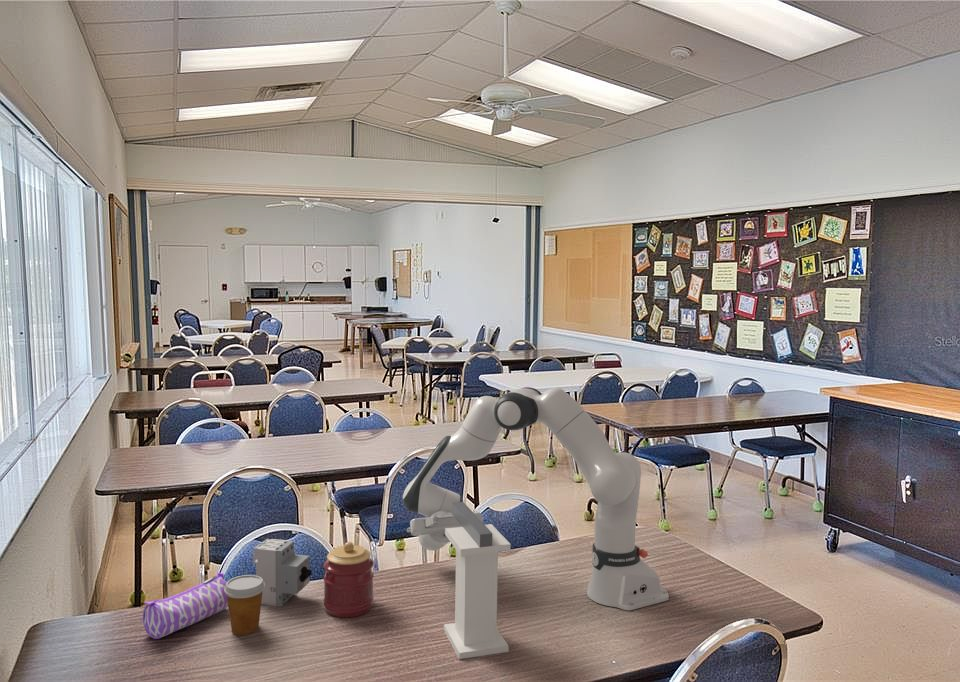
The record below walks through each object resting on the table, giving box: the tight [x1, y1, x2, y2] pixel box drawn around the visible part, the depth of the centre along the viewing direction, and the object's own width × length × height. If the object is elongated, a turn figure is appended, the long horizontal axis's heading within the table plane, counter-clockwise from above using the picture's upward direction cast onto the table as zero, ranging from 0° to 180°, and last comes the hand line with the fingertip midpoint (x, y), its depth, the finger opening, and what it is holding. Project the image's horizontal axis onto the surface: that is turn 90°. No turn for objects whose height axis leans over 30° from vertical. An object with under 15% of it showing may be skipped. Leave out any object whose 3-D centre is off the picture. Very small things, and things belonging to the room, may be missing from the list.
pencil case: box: [142, 572, 228, 640], centre depth 178 cm, size 22×9×10 cm, turn 151°
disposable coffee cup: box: [224, 574, 265, 636], centre depth 175 cm, size 10×10×12 cm
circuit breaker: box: [252, 538, 313, 607], centre depth 191 cm, size 8×14×15 cm, turn 78°
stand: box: [443, 523, 512, 660], centre depth 170 cm, size 12×14×26 cm
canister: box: [323, 541, 375, 618], centre depth 187 cm, size 13×13×18 cm
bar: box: [452, 501, 492, 547], centre depth 174 cm, size 3×24×3 cm, turn 18°
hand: (452, 518), depth 191 cm, fingers open, 8 cm apart
